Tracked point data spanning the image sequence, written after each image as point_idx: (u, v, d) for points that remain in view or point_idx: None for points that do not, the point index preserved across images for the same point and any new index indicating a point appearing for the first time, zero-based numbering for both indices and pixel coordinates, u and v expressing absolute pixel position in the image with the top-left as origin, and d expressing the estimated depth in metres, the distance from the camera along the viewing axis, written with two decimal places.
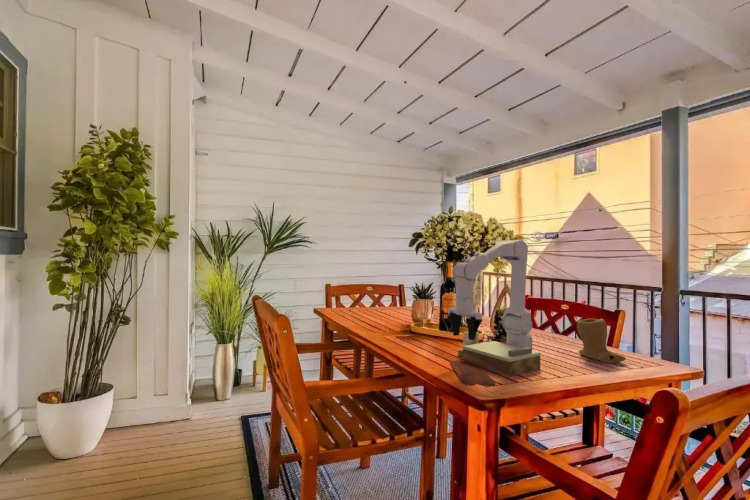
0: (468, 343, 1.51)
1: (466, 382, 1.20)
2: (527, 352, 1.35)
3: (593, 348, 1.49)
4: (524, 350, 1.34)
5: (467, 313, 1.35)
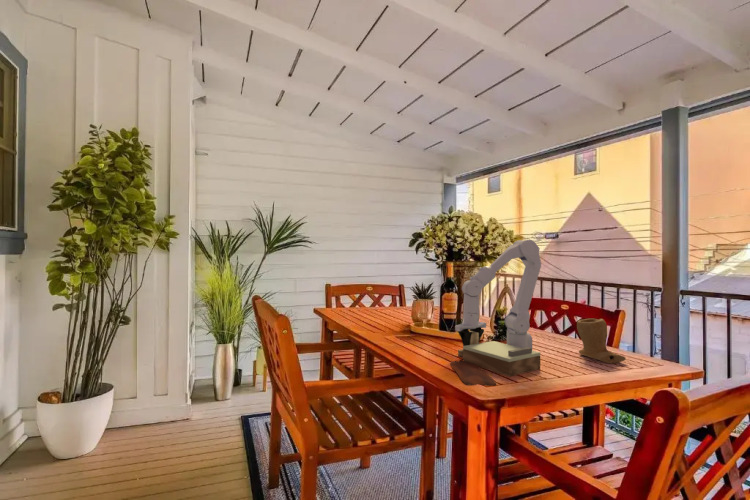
0: None
1: (467, 382, 1.20)
2: (527, 352, 1.35)
3: (593, 348, 1.49)
4: (524, 350, 1.34)
5: None
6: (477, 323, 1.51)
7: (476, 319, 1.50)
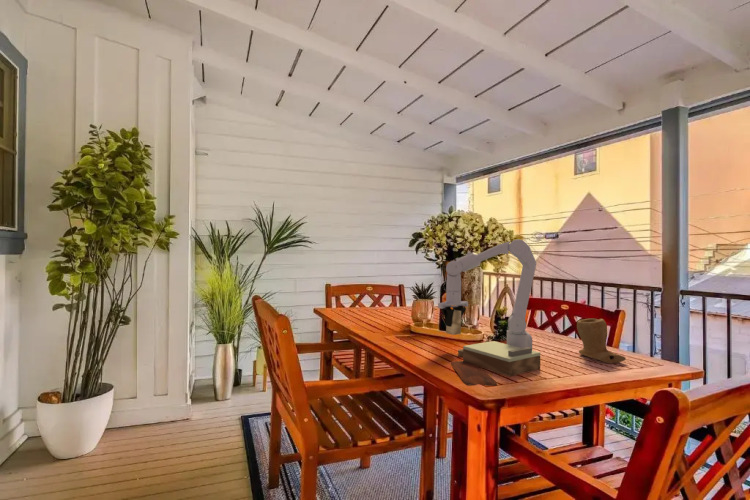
0: None
1: (468, 383, 1.20)
2: (527, 352, 1.35)
3: (593, 348, 1.49)
4: (524, 350, 1.34)
5: None
6: (459, 301, 1.59)
7: (458, 297, 1.58)
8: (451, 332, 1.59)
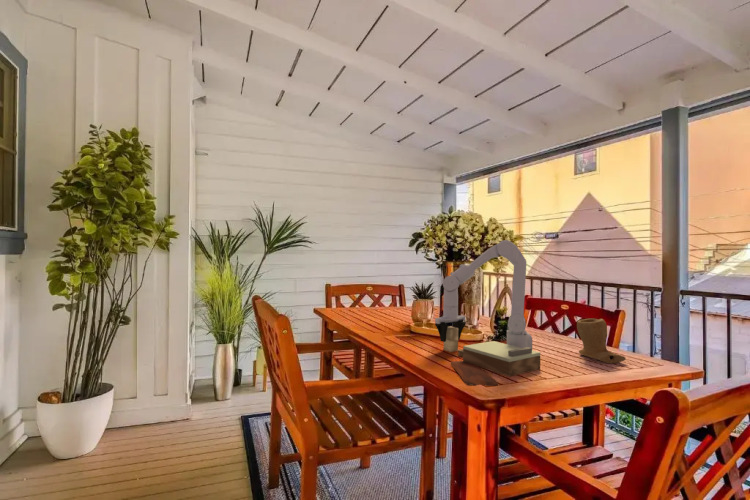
0: (448, 338, 1.60)
1: (469, 382, 1.20)
2: (527, 352, 1.35)
3: (593, 348, 1.49)
4: (524, 350, 1.34)
5: None
6: (456, 316, 1.60)
7: (455, 312, 1.60)
8: (448, 349, 1.60)
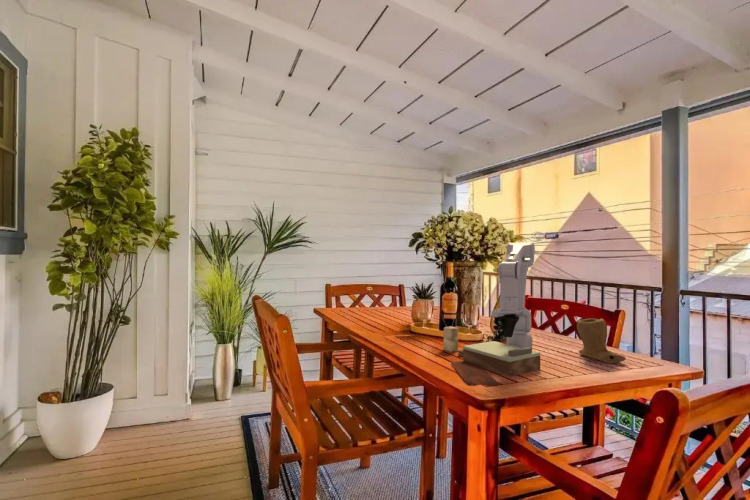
0: (448, 338, 1.60)
1: (470, 383, 1.20)
2: (527, 352, 1.35)
3: (593, 348, 1.49)
4: (524, 350, 1.34)
5: None
6: (516, 308, 1.36)
7: (515, 304, 1.36)
8: (448, 349, 1.60)
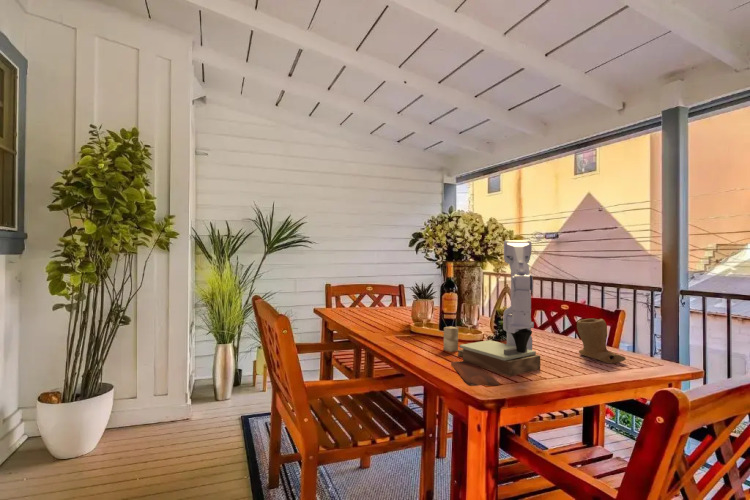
0: (448, 338, 1.60)
1: (470, 383, 1.20)
2: None
3: (593, 348, 1.49)
4: None
5: None
6: (530, 323, 1.33)
7: (529, 318, 1.32)
8: (448, 349, 1.60)
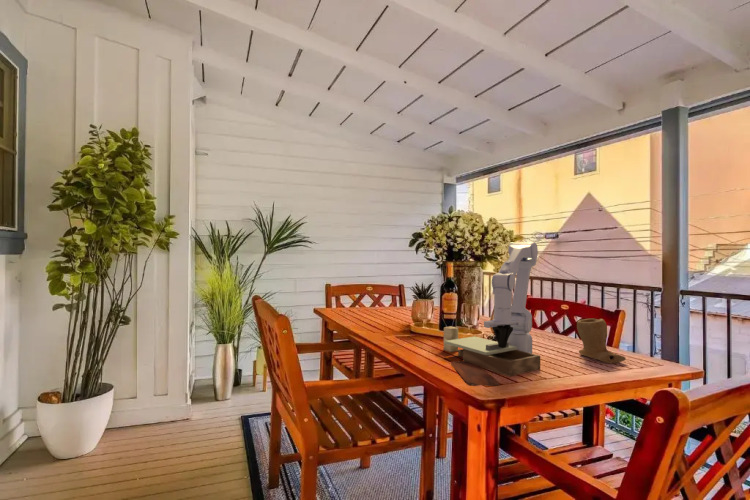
0: (448, 338, 1.60)
1: (471, 383, 1.20)
2: None
3: (593, 348, 1.49)
4: None
5: None
6: (509, 320, 1.38)
7: (508, 315, 1.38)
8: (448, 349, 1.60)
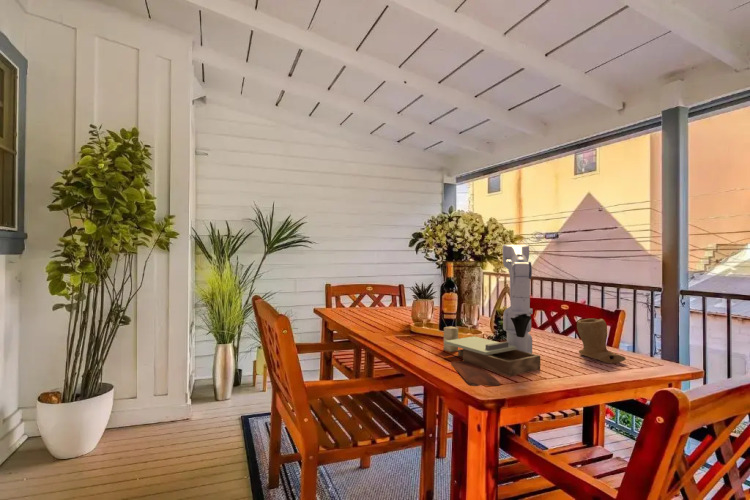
0: (448, 338, 1.60)
1: (472, 383, 1.20)
2: (504, 346, 1.43)
3: (593, 348, 1.49)
4: (501, 344, 1.42)
5: (510, 311, 1.38)
6: (529, 308, 1.37)
7: (528, 304, 1.37)
8: (448, 349, 1.60)
